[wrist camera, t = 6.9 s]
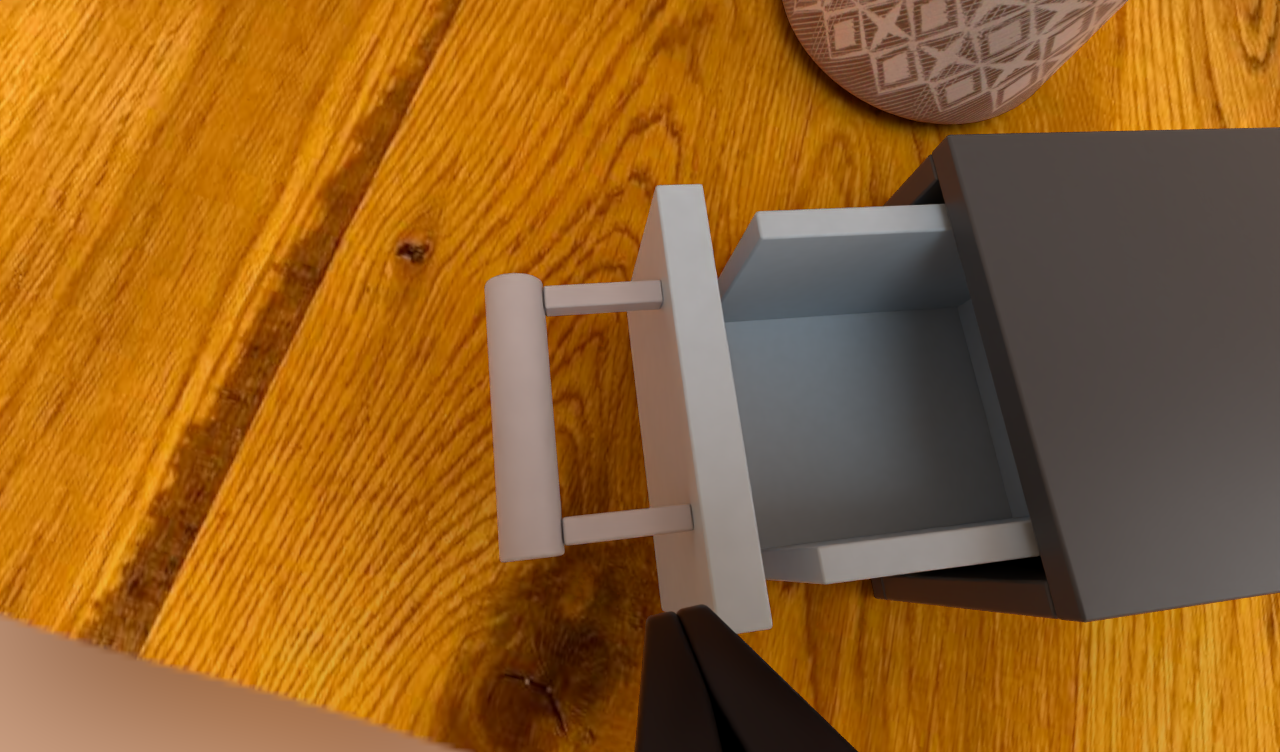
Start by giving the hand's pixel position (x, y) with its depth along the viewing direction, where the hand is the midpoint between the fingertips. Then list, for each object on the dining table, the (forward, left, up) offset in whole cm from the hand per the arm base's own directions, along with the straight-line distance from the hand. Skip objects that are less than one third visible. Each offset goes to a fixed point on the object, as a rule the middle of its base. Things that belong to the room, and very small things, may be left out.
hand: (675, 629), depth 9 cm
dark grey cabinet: (+7, -15, -12) cm, 21 cm away
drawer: (+5, -5, -12) cm, 14 cm away
